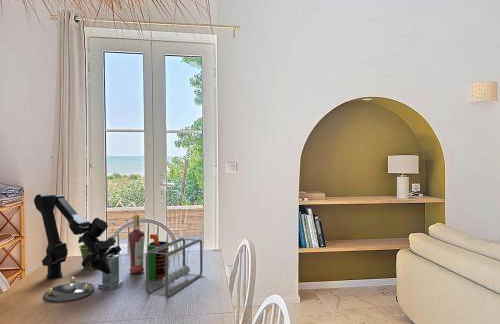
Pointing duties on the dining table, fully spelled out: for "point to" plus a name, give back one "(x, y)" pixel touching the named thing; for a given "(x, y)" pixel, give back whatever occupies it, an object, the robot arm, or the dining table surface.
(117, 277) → the square pipe section
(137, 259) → the liquor
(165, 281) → the newton's cradle
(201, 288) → the dining table surface
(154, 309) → the dining table surface
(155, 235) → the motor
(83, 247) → the plant pot
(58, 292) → the disc
